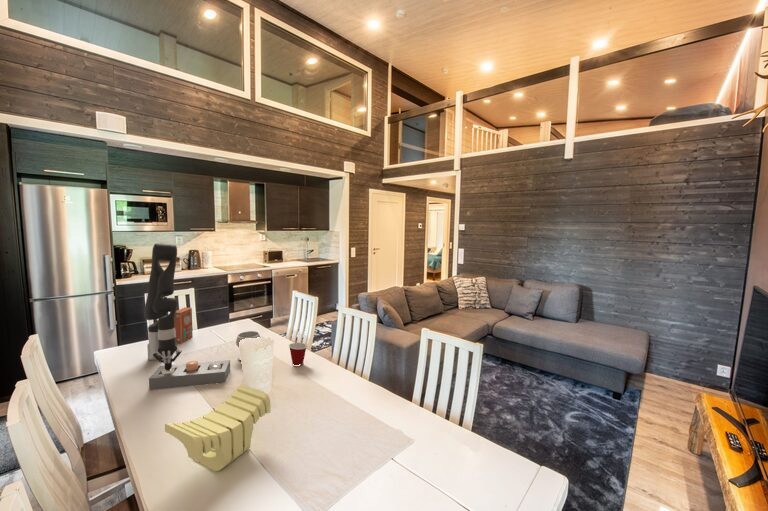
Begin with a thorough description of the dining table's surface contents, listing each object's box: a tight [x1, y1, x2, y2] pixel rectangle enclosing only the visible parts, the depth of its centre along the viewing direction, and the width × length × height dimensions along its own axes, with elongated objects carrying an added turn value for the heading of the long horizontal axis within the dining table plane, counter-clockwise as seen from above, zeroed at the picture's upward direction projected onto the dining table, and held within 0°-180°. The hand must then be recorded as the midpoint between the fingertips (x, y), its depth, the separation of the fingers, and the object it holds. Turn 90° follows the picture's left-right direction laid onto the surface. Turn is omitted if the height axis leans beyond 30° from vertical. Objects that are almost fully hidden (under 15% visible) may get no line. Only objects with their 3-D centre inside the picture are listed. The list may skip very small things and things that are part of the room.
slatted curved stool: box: [164, 383, 271, 472], centre depth 117 cm, size 30×16×18 cm, turn 154°
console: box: [148, 359, 231, 391], centre depth 172 cm, size 34×15×6 cm, turn 106°
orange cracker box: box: [175, 307, 194, 344], centre depth 227 cm, size 21×7×15 cm
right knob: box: [209, 364, 221, 370], centre depth 175 cm, size 6×6×5 cm
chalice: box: [235, 330, 261, 362], centre depth 201 cm, size 14×14×15 cm
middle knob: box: [185, 360, 199, 372], centre depth 172 cm, size 6×6×5 cm
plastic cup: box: [288, 342, 308, 365], centre depth 193 cm, size 11×11×12 cm
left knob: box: [162, 367, 175, 374], centre depth 169 cm, size 6×6×5 cm
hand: (168, 369), depth 169 cm, fingers closed
